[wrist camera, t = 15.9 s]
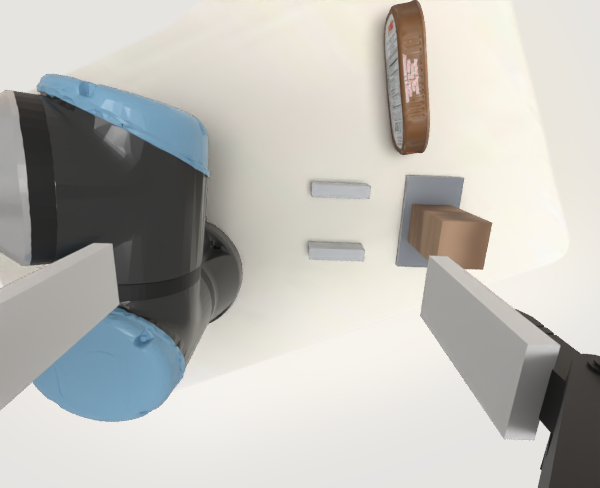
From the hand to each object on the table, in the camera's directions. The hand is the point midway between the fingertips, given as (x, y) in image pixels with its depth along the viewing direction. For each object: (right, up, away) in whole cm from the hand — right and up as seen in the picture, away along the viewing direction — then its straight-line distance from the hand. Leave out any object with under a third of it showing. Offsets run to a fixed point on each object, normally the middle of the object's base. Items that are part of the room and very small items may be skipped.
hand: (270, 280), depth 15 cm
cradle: (+6, +5, +32) cm, 33 cm away
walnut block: (+18, +4, +31) cm, 36 cm away
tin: (+13, +20, +27) cm, 36 cm away
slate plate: (+18, +4, +32) cm, 37 cm away
